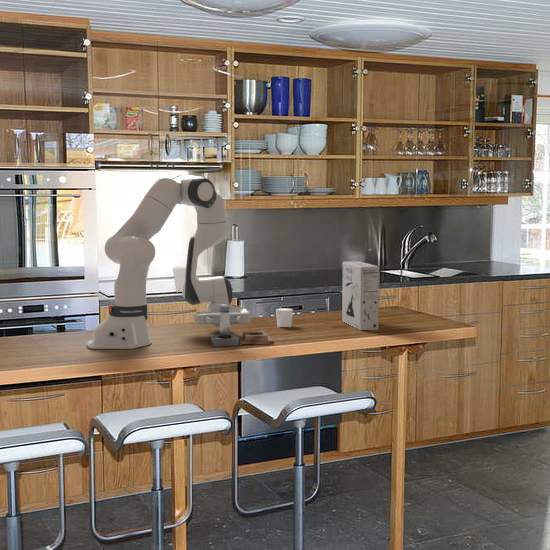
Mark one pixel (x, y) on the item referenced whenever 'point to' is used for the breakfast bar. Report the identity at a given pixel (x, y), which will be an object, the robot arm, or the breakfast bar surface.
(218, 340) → the socket
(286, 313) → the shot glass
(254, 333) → the rack
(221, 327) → the drill rod
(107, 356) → the breakfast bar surface
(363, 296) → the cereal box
